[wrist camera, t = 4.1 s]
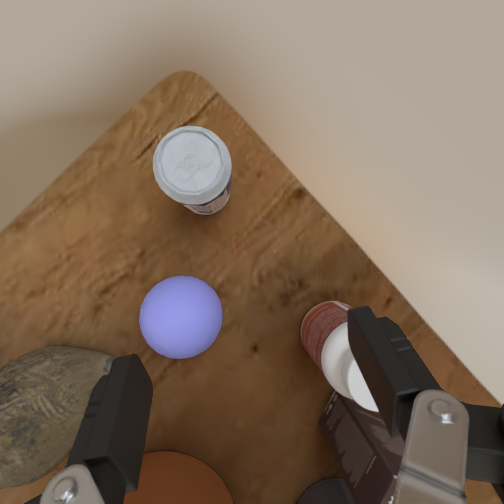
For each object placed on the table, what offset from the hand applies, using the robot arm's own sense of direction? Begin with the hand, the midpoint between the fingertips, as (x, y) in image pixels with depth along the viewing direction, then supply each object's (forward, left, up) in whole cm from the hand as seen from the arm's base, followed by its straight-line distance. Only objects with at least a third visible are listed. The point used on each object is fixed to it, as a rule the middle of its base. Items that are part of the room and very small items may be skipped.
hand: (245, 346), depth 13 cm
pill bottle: (-6, +9, -20) cm, 23 cm away
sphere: (+5, 0, -20) cm, 20 cm away
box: (-3, +18, -20) cm, 27 cm away
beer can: (-2, -9, -20) cm, 22 cm away
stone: (+20, +1, -20) cm, 28 cm away
